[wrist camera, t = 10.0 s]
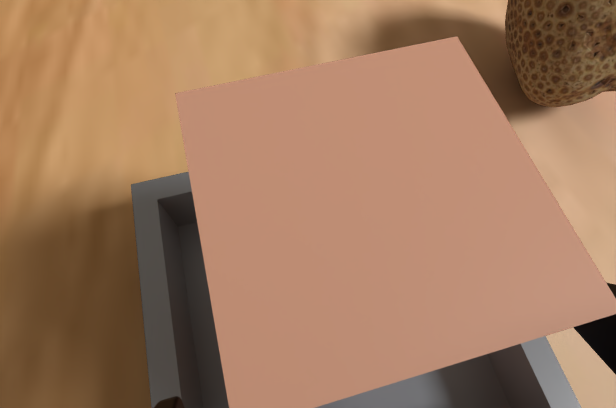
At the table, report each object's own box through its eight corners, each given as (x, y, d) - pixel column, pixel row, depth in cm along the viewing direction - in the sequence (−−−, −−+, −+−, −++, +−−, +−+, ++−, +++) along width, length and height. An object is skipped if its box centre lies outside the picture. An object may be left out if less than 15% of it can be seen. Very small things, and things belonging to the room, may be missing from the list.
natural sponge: (598, 33, 27) (745, -149, 18) (641, 144, 23) (856, -18, 14) (462, 28, 27) (541, -155, 18) (483, 138, 23) (596, -26, 14)
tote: (413, 161, 22) (434, 116, 19) (539, 441, 17) (604, 453, 13) (161, 221, 21) (131, 184, 17) (202, 556, 15) (170, 606, 11)
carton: (419, 366, 17) (623, 311, 6) (280, 408, 16) (233, 433, 5) (371, 237, 19) (457, 36, 9) (250, 269, 19) (175, 93, 8)
